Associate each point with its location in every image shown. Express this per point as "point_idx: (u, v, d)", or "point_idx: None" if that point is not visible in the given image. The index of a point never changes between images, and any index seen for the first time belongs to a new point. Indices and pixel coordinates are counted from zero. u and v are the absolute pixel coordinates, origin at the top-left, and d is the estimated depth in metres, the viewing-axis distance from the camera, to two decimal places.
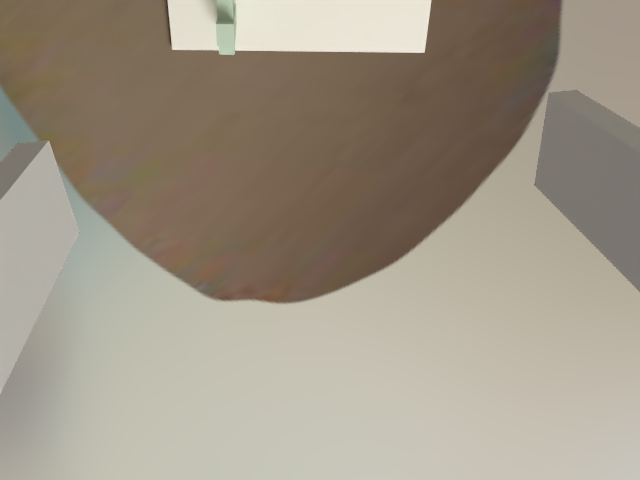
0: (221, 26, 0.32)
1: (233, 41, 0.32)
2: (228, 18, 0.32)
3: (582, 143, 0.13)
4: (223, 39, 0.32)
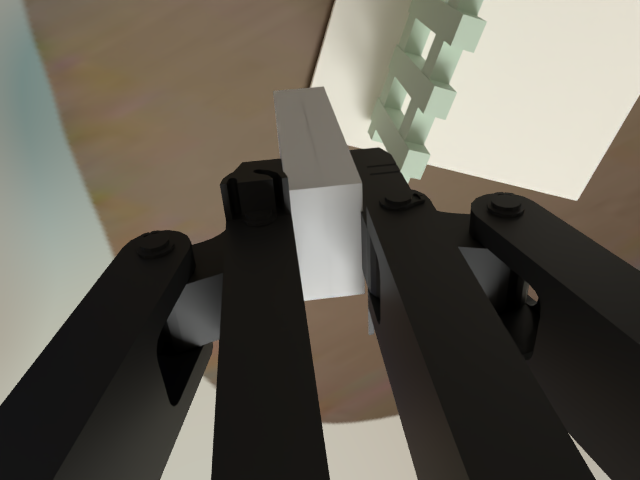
0: (415, 153, 0.24)
1: (421, 173, 0.24)
2: (419, 141, 0.25)
3: None
4: (410, 169, 0.24)
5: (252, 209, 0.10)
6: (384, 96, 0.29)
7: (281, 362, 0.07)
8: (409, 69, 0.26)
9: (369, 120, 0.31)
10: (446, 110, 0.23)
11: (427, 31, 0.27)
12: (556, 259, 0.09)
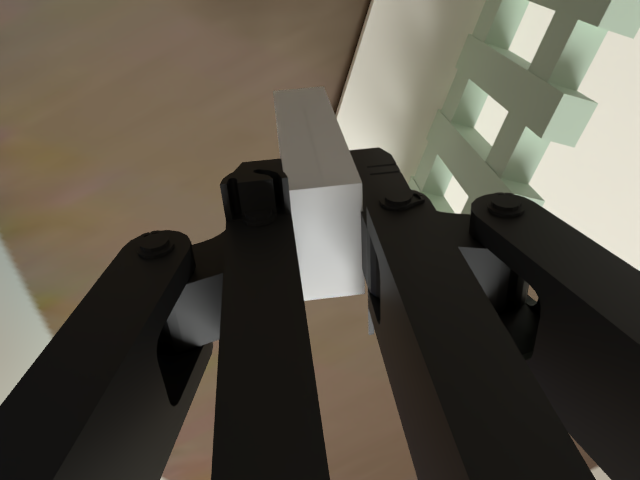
0: None
1: None
2: None
3: None
4: None
5: (252, 209, 0.10)
6: (422, 177, 0.21)
7: (281, 361, 0.07)
8: (463, 152, 0.18)
9: None
10: None
11: (484, 96, 0.19)
12: (556, 259, 0.09)
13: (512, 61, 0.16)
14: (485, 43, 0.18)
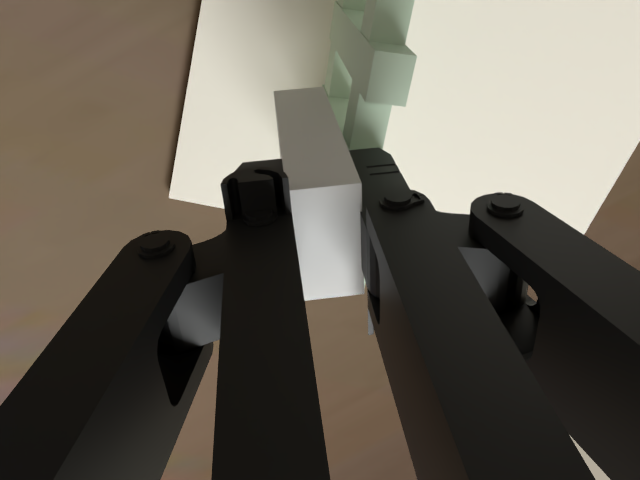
0: None
1: None
2: None
3: None
4: None
5: (252, 209, 0.10)
6: None
7: (282, 362, 0.07)
8: None
9: None
10: None
11: None
12: (556, 259, 0.09)
13: (353, 23, 0.15)
14: (342, 8, 0.17)
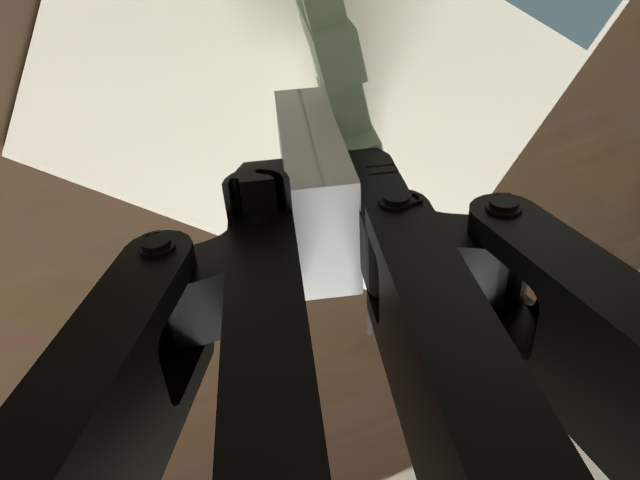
0: None
1: None
2: None
3: None
4: None
5: (253, 209, 0.10)
6: None
7: (282, 361, 0.07)
8: None
9: (113, 156, 0.21)
10: None
11: None
12: (554, 259, 0.09)
13: (303, 16, 0.15)
14: (298, 1, 0.17)
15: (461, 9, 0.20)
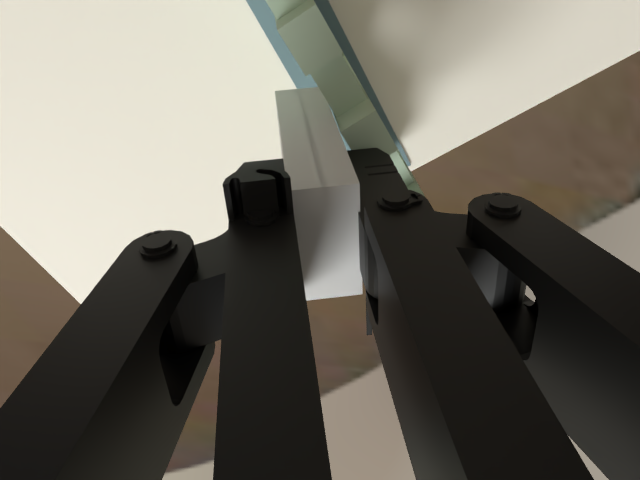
0: None
1: None
2: None
3: None
4: None
5: (254, 209, 0.10)
6: None
7: (282, 362, 0.07)
8: None
9: None
10: (387, 139, 0.14)
11: None
12: (554, 259, 0.09)
13: None
14: None
15: (273, 98, 0.21)
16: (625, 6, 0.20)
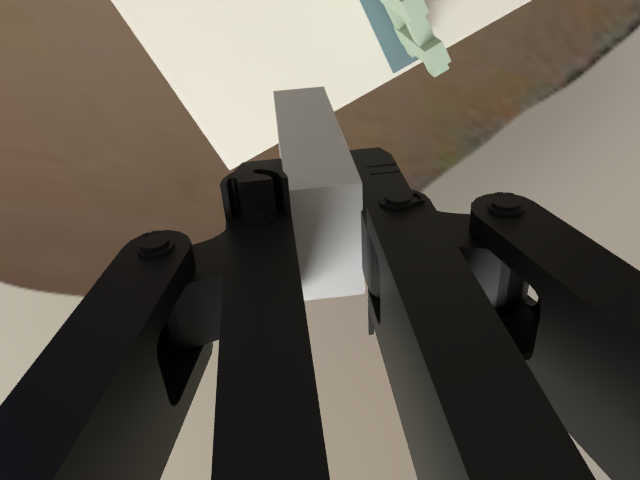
0: (431, 50, 0.29)
1: (448, 57, 0.29)
2: (430, 38, 0.30)
3: None
4: (437, 61, 0.29)
5: (252, 209, 0.10)
6: (394, 23, 0.34)
7: (281, 362, 0.07)
8: None
9: None
10: (424, 7, 0.28)
11: None
12: (556, 259, 0.09)
13: None
14: None
15: (346, 9, 0.35)
16: None
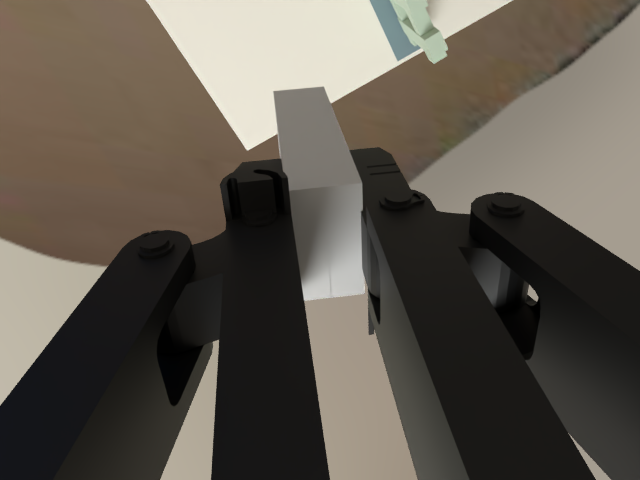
0: (430, 39, 0.32)
1: (445, 45, 0.33)
2: (429, 28, 0.33)
3: None
4: (436, 49, 0.33)
5: (252, 209, 0.10)
6: (398, 15, 0.37)
7: (281, 362, 0.07)
8: None
9: None
10: (423, 0, 0.31)
11: None
12: (556, 259, 0.09)
13: None
14: None
15: (354, 2, 0.38)
16: None
